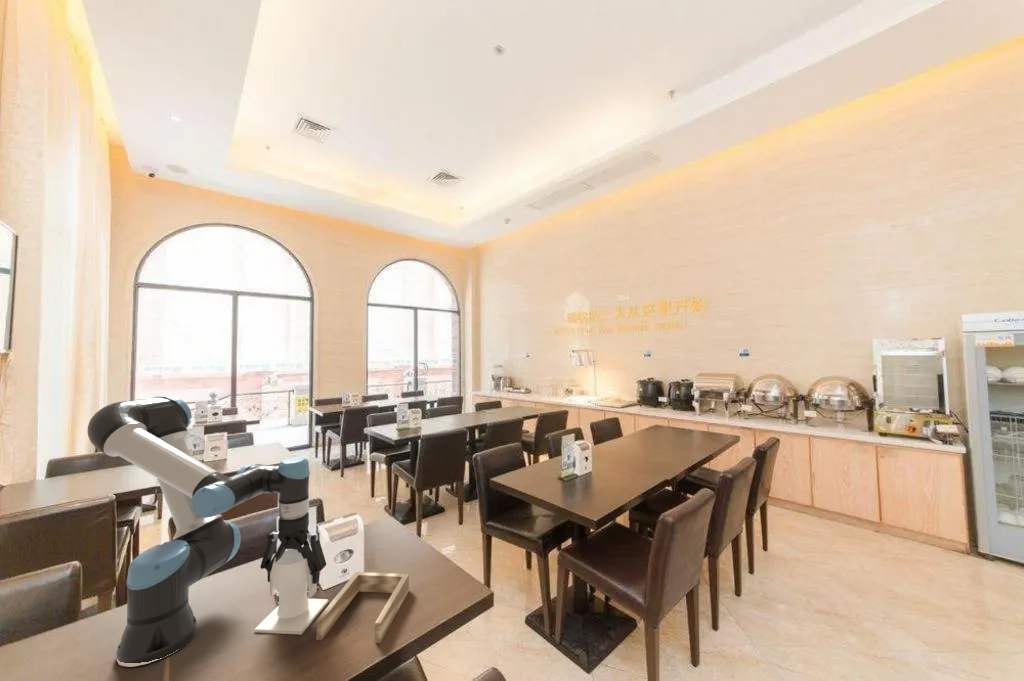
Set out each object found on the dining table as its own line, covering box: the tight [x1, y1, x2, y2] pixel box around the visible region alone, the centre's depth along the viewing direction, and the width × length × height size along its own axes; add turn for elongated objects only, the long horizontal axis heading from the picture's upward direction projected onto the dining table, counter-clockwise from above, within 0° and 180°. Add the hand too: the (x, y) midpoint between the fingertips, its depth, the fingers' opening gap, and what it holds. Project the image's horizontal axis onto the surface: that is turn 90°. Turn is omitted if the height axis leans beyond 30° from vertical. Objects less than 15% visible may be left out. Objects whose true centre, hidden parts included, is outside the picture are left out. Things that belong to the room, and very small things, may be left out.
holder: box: [315, 571, 410, 644], centre depth 110 cm, size 17×22×5 cm
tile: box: [254, 598, 329, 635], centre depth 109 cm, size 13×13×1 cm
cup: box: [271, 549, 311, 619], centre depth 109 cm, size 11×11×15 cm
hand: (293, 593), depth 109 cm, fingers closed on cup, 10 cm apart
